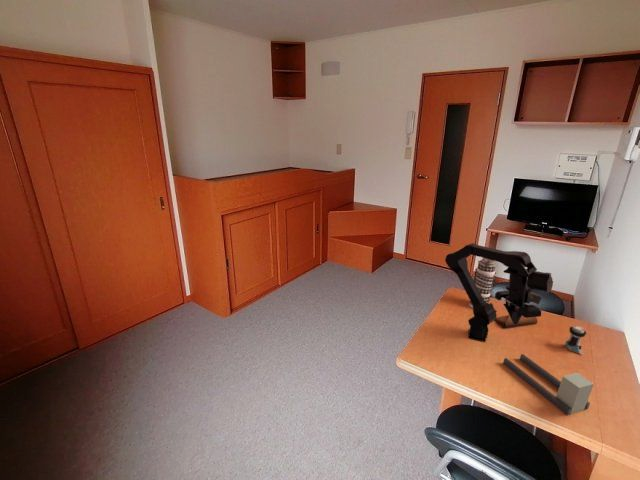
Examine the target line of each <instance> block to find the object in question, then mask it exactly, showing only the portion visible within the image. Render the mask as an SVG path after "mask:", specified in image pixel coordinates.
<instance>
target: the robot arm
mask: <svg viewBox="0 0 640 480" xmlns="http://www.w3.org/2000/svg"><path fill="white" fill-rule="evenodd" d="M470 256H475V257H480V258H481V259H490V260H493V261H494V262H499V263H501V264H502V265H503V266H505V267H506V269H504V270H503V273H504V274H509V276H508V277H509V279H508V286H506V287H505V289H506V290H500V291H498V290H497V291H496V293H494V298H495V299H496V300H497V301H501V300H502V299H504V301H505V303H504V304H503V307H504V308H505V309H506V311H507V313H508V315H510V318H511V320H512V322H513V324H518V322H519V320H520V318H521V316H523V317H526V318H528V317H536V318H537V317H539V318H540V317H542V309H541V308H539V307H537V306H536V305H539V304H540V303H541V300H542V298H543V296H542V295H540V294H538V293H536V292H534V291H532V290H535V291H539V292H543V293H551V291H552V289H553V286H554V285H553V284H554V280H553V277H552V273H551V272H542V271H537V270H538V268H537V267H536V266H535V264H534V262H533V261H532V259H531V256H530V255H529V253H527V252H525V251H517V250H509V251H508V250H507V251H506V250H501V249H496V248H493V247H489V246H488V247H487V246H483V245H479V244H475V243H473V242H472V243H468V244H467V245H464V247H462V248H461V249H459V250H456V251H453V252H450V253H448V254H446V256H445V259H444V261H445V264H446V265H447V266H448V268H449V269H450V271H452V272H454V273H455V274H456V276H457V277H458V279H459V280H458V281H460V283H461V285H462V287H463V289H464V291H465V293H466V295H467V297H468V298H469V302H470V301H471V303H472V305H473V308H472V313H473V316H472V317H470V318H469V319H467V320H468V325H469V328H468V330H467V332H468V333H467V334H468V339H471V340H474V341H475V340H476V341H479V342H485V343H486V342H487V340H486V339H487V338H488V334H489V325H490V324H491V323H493V322H495V321H494V320H495V319H496V318H497V315H498V314H497V312H498V311H497V310H496V309H495V307H494V305H493V303H492V302H489V304H488V303H487V302H485V301H484V299H483V297H482V295H481V294H480V292H479V290H478V288H477V286H476V284H475V282H474V278H473V276H472V275H471V273H470V271H469V268H468V260H467V258H468V257H470ZM531 303H535V304H536V305H534V304H531Z"/></svg>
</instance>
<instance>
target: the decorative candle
mask: <svg viewBox="0 0 640 480" xmlns="http://www.w3.org/2000/svg"><path fill="white" fill-rule="evenodd" d="M477 263H478V264H477V267H476V268H475V269H474V275H473V277H474V278H473V280H474V282H475V284H476V286H477V288H478V290H479V292H480V294H481V295H482V297H483V299H484V301H485V302H487V303H488V304H490V299H491V290H492V289H493V288H494V287H493V285H494V282H495V279H496V274H497V272H496V267H497V266H498V264H497V263H496V261H494V260H490V259H486V258H481V260H478V261H477ZM468 305H469V307H470V308H471V309H473V305H472V303H471V301H470V300H469V304H468Z"/></svg>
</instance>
